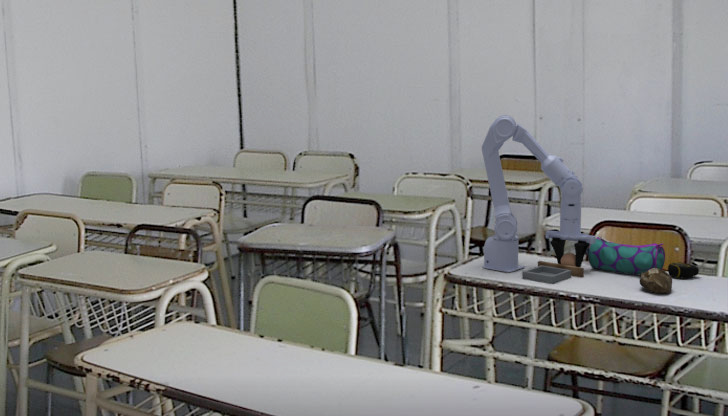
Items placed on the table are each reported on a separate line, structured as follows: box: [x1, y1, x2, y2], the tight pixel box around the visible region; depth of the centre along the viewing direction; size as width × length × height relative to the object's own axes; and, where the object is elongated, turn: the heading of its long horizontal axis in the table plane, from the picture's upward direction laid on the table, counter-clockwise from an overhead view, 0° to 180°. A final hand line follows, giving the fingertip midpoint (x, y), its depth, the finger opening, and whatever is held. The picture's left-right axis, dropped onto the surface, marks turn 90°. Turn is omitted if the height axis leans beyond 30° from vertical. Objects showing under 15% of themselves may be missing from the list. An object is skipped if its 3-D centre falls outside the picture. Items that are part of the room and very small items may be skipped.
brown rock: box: [639, 268, 673, 294], centre depth 215 cm, size 8×7×10 cm
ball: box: [561, 252, 576, 267], centre depth 239 cm, size 5×5×5 cm
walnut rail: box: [537, 260, 585, 278], centre depth 235 cm, size 14×1×2 cm, turn 46°
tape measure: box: [667, 261, 700, 279], centre depth 229 cm, size 7×7×4 cm
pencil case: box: [584, 235, 666, 276], centre depth 235 cm, size 21×9×10 cm, turn 51°
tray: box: [521, 265, 572, 285], centre depth 231 cm, size 10×10×2 cm
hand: (569, 265), depth 239 cm, fingers closed on ball, 5 cm apart
